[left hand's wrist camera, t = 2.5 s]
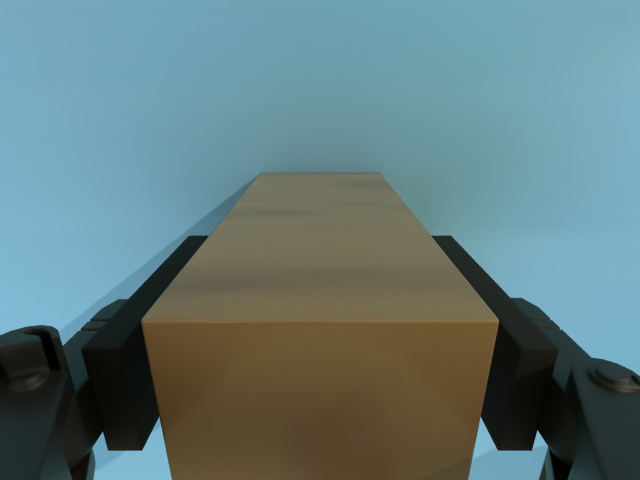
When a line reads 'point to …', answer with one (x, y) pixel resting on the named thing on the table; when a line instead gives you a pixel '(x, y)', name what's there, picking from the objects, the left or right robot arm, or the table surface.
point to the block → (320, 341)
